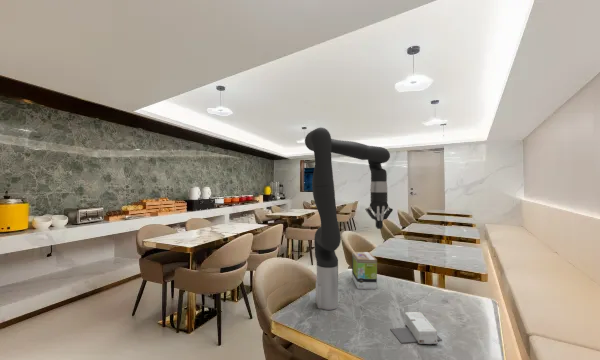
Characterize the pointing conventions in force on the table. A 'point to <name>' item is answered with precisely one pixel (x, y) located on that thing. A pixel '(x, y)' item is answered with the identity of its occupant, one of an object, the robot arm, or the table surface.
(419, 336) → the skincare box
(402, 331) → the mat
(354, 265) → the tea box
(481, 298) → the table surface
